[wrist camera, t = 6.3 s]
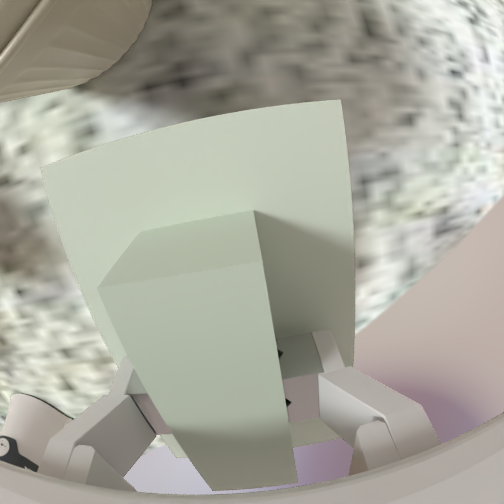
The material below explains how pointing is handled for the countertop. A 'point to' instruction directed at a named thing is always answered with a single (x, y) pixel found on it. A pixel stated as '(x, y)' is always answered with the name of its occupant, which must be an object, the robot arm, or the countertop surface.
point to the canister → (63, 42)
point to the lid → (217, 272)
